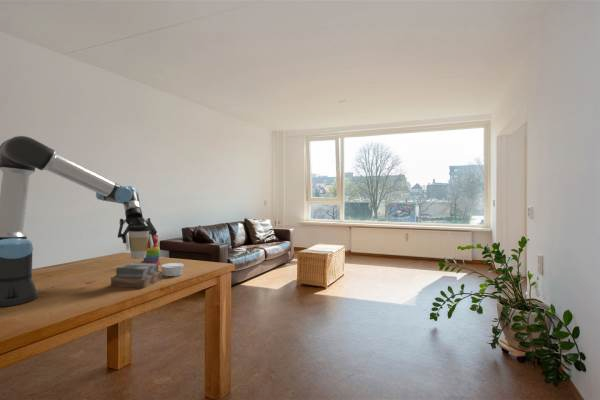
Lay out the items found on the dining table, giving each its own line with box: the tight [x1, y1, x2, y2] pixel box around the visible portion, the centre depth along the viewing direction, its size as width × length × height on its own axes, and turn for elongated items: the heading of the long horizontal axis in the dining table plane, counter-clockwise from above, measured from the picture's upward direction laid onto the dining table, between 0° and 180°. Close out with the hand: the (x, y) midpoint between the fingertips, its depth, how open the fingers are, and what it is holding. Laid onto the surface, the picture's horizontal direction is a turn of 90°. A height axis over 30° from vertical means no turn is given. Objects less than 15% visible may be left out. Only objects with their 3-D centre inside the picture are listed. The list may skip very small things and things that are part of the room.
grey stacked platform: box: [110, 262, 164, 289], centre depth 159 cm, size 16×16×8 cm
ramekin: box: [160, 262, 185, 277], centre depth 176 cm, size 11×11×5 cm
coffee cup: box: [128, 225, 150, 260], centre depth 159 cm, size 10×10×15 cm
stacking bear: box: [139, 234, 161, 266], centre depth 199 cm, size 11×10×18 cm
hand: (140, 247), depth 157 cm, fingers closed on coffee cup, 10 cm apart
